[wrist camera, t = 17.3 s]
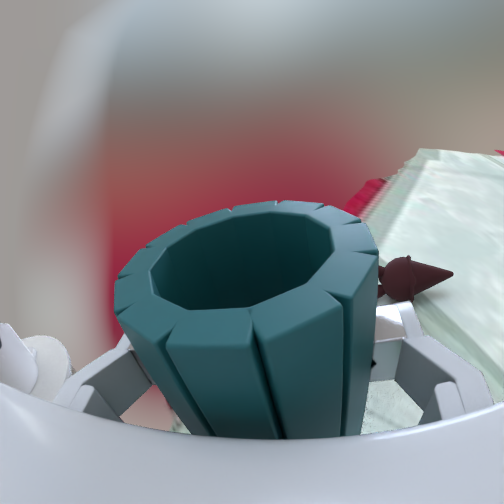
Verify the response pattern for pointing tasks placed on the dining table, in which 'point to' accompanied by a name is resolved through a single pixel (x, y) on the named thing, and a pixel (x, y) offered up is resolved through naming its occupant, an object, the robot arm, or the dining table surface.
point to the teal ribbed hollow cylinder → (257, 320)
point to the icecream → (408, 278)
